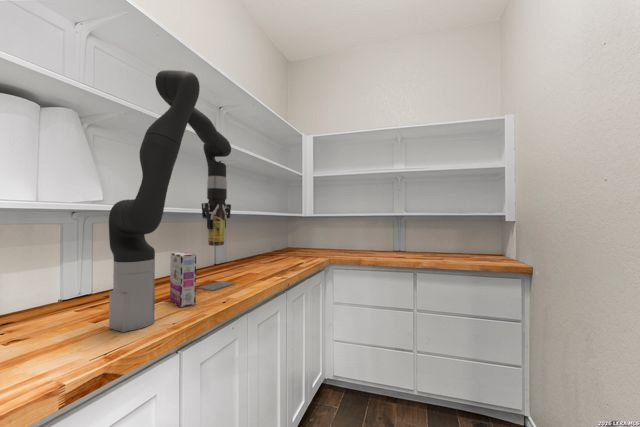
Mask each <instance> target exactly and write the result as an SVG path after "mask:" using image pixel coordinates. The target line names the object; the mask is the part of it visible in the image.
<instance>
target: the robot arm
mask: <svg viewBox="0 0 640 427" xmlns="http://www.w3.org/2000/svg"><path fill="white" fill-rule="evenodd" d="M155 87H156V90H157V93H158V95H159V96H160V97H161V99H163V100H164V102H165V103H166V104H168V106H169V108H168V110H167V111H165V112H164V113H163V114H162V115H161V116H159V118H157V119H155V121H154V122H153V123H152V124H150V126H149V127H148V128H147V130H146V131H145V133H144V136H143V139H142V142H141V144H140V148H139V162H140V167H141V172H142V178H141V181H140V182H141V183H140V186H139V189H138V191H137V194H136V196H135V198H134V199H121V200H119V201H117V202H116V203H114V204H113V206H112V207H111V209H110V211H109V214H108V236H109V237H108V238H109V240H108V241H109V249H110V252H111V253H112V256H113V282H112V283H113V284H112V285H113V286H112V288H113V289H112V290H110V291H109V292H108V294H109V296H108V297H109V301H108V302H109V303H108V304H109V305H108V306H109V307H108V309H109V311H108V312H109V314H108V315H109V317H108V318H109V319H108V320H109V322H108V328H109V329H111V330H115V331H119V332H121V333H126V332H128V331H133V330H134V331H135V330H140V329H143V328H146V327H148V326H150V325H153V324H154V323H155V315H156V314H155V311H156V309H155V299H156V298H155V297H156V295H155V294H156V292H155V290H156V289H155V286H156V284H155V282H156V281H155V278H156V277H155V274H156V272H155V271H156V270H155V268H156V264H155V263H156V262H155V260H156V258H155V257H156V250H155V248H154V247H153V246H151V244H149V243H148V242H147V240H146V236H145V235H148V234H151V233H153V232H154V231H156V230H157V229H158V227H159V226H160V224H161V222H162V219H163V215H164V209H165V204H166V198H167V192H168V189H169V185H170V181H171V177H172V174H173V170H174V167H175V165H176V161H177V158H178V155H179V152H180V149H181V145H182V141H183V138H184V134H185V131H186V128H187V126H188V125H189V126H190V128H192V130H193V132H194V133H195V134H196V135H197V137H198V138H199V139H200V141H201V142H202V143H203V152H204V156H205V160H206V165H207V181H206V182H207V183H206V185H207V186H206V187H207V188H206V195H207V196H206V199H207V200H208V202H202V203H201V212H202V214H201V215H202V219H205V220H206V228H207V230H209V229H213V217H214V215H215V214H216V211H217V209H218V208H219V204H216V200H217V199H220V200H223V205H222V206H223V211H224V212H225V228H226V227H227V219H230V218H231V211H232V209H231V208H232V205H231V204H228V203H226V201H227V198H228V197H227V194H228V193H227V190H228V189H227V188H228V187H227V186H228V185H227V184H228V183H227V165H226V164H225V163H224V162H220V161H217V160H216V158H218V157H219V158H224V157H228V156H230V154H231V152H232V146H231V143H230V142H229V140H228V139H227V138H226V137H225V136H224V135H222V133H221V132H219V131H218V130H217V128H216V127H215V125H214V123H213V122H212V120H211V119H210V118H209V117H208V116H207V115H205V113H203V112H201V111H200V110H199V109H197V108H196V107H195V106H196V104H197V102H198V99H199V97H200V96H199V95H200V90H201V89H200V81H199V78H198V77H197V75H196V74H195V73H194V72H192V71H188V70H187V71H186V70H176V69H175V70H172V69H170V70H167V69H165V70H160V71H159V72H158V73H156V76H155ZM212 211H213V212H212ZM210 215H211V216H210Z"/></svg>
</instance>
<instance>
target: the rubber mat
mask: <svg viewBox="0 0 640 427" xmlns="http://www.w3.org/2000/svg"><path fill="white" fill-rule="evenodd" d="M234 285H235V282H229V281H220V280H219V281H216V282H213V283H209V284H208V283H207V284H205V285H202V286H198V287H197V290H205V291H210V292H214V291H217V290H221V289H223V288H228V287H231V286H234Z"/></svg>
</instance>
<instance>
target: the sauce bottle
mask: <svg viewBox="0 0 640 427" xmlns="http://www.w3.org/2000/svg"><path fill="white" fill-rule="evenodd" d="M216 204H219V208H218V209H217V211H216V214H215V215H214V217H213V229H208V233H207V234H208V237H207V238H208V239H207V241H208V245H209V246H215V247H217V246H218V247H219V246H224V244H225V234H226V233H225V232H226V227H225V212H224V211H223V206H222V205H223V200H220V199H217V200H216ZM212 212H213V211H212ZM210 216H211V215H210Z"/></svg>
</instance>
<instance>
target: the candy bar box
mask: <svg viewBox="0 0 640 427" xmlns="http://www.w3.org/2000/svg"><path fill="white" fill-rule="evenodd" d="M169 277H170V279H169V281H170V283H169V284H170V288H169V300H170V302H171V303H173V304H174V305H177V306H178V307H179V308H185V307H190V306H191V307H192V306H195V305H197V304H196V297H197V296H196V291H197V288H196V287H197V281H196V278H197V254H194V253H191V252H185V251H178V252H170V276H169Z"/></svg>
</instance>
